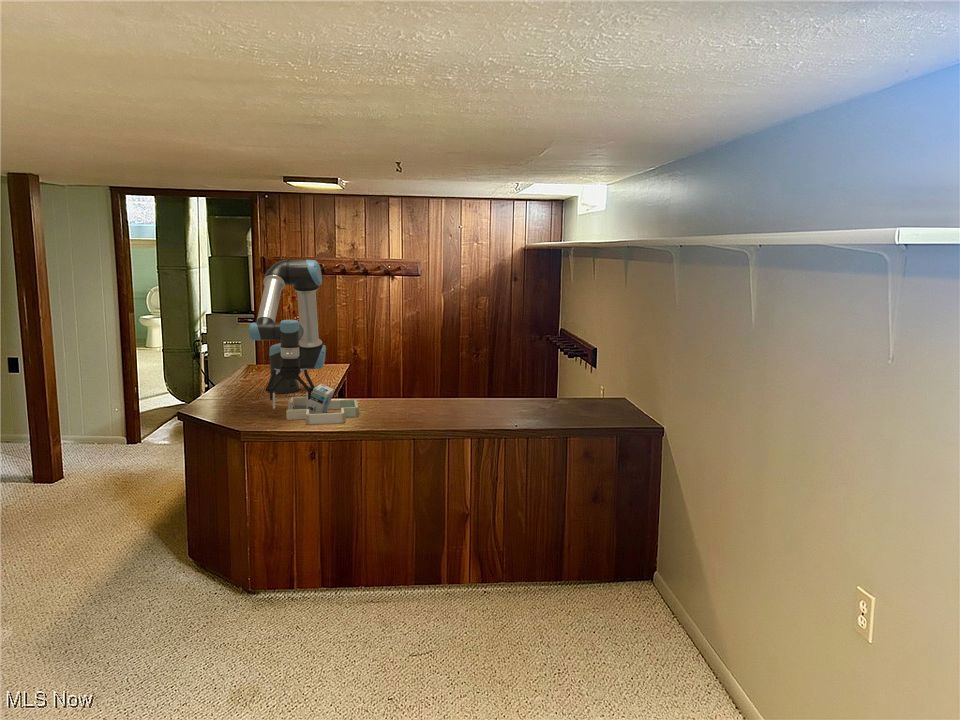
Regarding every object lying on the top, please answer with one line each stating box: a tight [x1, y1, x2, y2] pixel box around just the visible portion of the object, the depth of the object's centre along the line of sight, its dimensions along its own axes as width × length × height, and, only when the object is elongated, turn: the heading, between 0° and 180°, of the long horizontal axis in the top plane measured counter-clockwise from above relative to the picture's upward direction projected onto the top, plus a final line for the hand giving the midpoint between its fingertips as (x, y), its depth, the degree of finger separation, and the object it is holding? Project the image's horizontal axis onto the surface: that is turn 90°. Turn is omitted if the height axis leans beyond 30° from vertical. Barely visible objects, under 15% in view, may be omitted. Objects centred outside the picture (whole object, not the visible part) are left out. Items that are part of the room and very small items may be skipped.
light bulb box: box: [307, 383, 335, 414], centre depth 305 cm, size 11×7×11 cm, turn 176°
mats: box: [293, 406, 307, 410], centre depth 307 cm, size 32×19×1 cm, turn 13°
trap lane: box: [285, 396, 359, 425], centre depth 307 cm, size 34×29×4 cm
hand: (290, 407), depth 303 cm, fingers open, 13 cm apart
